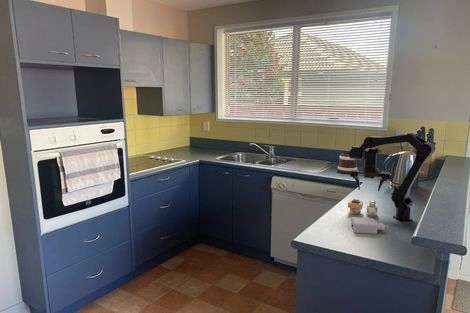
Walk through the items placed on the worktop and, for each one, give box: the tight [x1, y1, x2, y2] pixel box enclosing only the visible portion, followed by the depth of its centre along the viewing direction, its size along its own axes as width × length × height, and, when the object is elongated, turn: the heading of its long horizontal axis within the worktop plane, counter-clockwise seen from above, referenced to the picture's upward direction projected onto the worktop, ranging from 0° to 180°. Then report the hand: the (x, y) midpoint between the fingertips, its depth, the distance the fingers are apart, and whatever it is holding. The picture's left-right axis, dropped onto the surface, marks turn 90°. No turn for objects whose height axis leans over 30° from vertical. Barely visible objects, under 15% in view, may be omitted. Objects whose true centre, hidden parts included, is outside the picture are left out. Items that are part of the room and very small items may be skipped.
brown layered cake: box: [337, 152, 358, 175], centre depth 269 cm, size 20×15×15 cm
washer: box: [347, 199, 364, 210], centre depth 172 cm, size 7×7×2 cm
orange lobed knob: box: [365, 199, 379, 218], centre depth 169 cm, size 5×5×7 cm
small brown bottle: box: [349, 198, 362, 216], centre depth 172 cm, size 5×5×7 cm
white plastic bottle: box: [350, 216, 390, 235], centre depth 150 cm, size 5×9×15 cm
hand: (368, 190), depth 174 cm, fingers open, 9 cm apart
